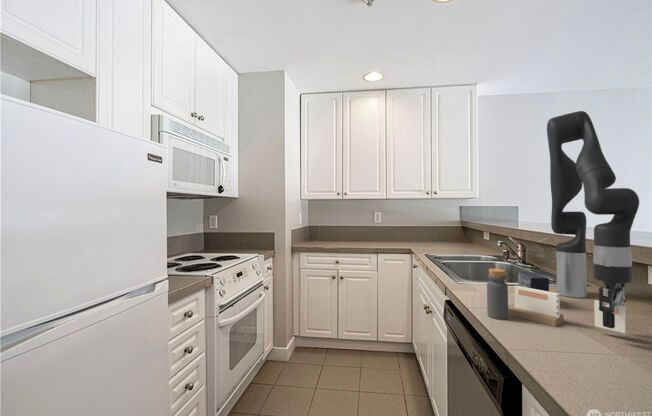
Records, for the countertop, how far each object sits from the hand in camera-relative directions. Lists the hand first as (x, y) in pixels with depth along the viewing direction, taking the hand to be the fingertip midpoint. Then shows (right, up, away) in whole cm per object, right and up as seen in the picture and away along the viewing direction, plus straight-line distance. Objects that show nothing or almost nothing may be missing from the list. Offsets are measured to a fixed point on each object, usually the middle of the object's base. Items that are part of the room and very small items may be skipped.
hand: (613, 323), depth 80 cm
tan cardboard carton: (-10, -4, +15) cm, 18 cm away
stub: (0, -2, 0) cm, 2 cm away
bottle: (-21, -4, +16) cm, 27 cm away
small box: (0, -4, +30) cm, 30 cm away
